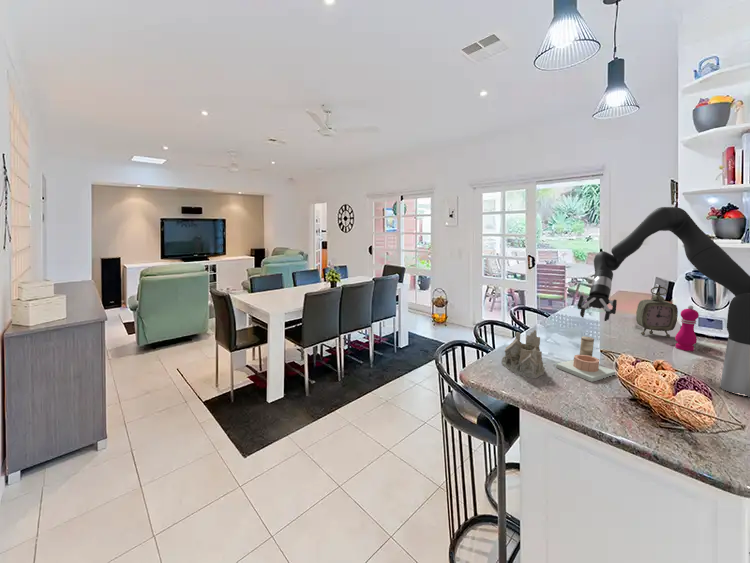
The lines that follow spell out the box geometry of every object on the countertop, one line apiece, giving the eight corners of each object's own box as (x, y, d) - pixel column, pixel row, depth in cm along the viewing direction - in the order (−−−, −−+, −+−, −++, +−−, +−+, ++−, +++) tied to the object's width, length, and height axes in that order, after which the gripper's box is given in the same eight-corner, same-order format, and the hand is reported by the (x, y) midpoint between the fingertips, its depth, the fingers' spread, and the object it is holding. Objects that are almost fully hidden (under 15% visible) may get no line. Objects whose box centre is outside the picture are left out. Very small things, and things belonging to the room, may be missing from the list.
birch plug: (594, 360, 142) (596, 339, 140) (587, 361, 140) (589, 340, 138) (583, 356, 146) (585, 335, 144) (576, 358, 144) (578, 337, 142)
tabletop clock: (639, 335, 175) (646, 287, 171) (632, 331, 184) (638, 284, 180) (674, 338, 171) (681, 288, 167) (665, 333, 180) (671, 286, 176)
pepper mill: (699, 352, 152) (706, 307, 149) (680, 350, 154) (686, 306, 151) (688, 346, 159) (694, 304, 156) (670, 345, 161) (676, 303, 158)
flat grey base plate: (616, 375, 127) (617, 362, 126) (591, 381, 121) (593, 368, 121) (579, 361, 140) (581, 350, 139) (556, 367, 134) (557, 355, 133)
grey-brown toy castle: (506, 356, 144) (509, 322, 141) (549, 368, 134) (553, 331, 131) (492, 370, 133) (495, 333, 129) (538, 384, 123) (542, 344, 119)
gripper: (582, 281, 158) (574, 310, 152) (619, 285, 149) (613, 316, 143) (583, 291, 163) (575, 320, 156) (619, 295, 154) (613, 326, 147)
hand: (593, 318), depth 149 cm, fingers open, 8 cm apart
